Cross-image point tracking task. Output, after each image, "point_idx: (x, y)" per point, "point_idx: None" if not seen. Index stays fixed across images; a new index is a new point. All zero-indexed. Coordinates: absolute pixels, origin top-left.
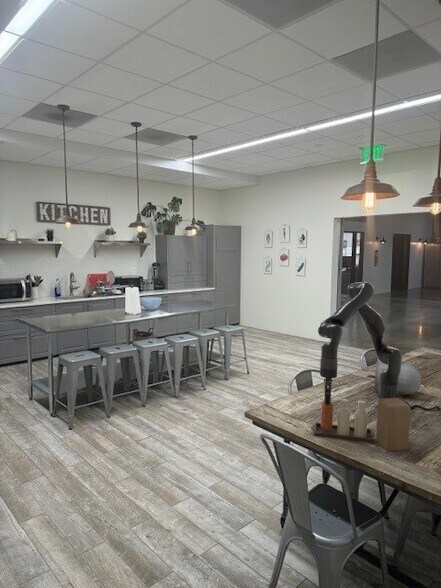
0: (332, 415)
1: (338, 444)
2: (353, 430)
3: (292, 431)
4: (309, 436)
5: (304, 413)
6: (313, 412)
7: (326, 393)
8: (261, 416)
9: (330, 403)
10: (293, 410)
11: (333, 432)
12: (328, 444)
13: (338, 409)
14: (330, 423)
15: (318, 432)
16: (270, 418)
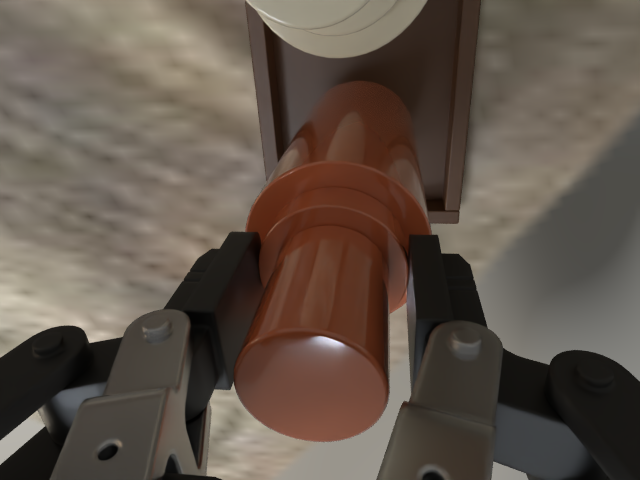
0: (378, 118)
1: (575, 2)
2: None
3: (407, 336)
4: (459, 238)
5: (98, 278)
6: (45, 223)
7: (365, 414)
8: (262, 471)
9: (386, 220)
10: (93, 338)
11: (359, 59)
12: (582, 95)
13: (308, 50)
14: (403, 114)
15: (455, 193)
16: (268, 437)
